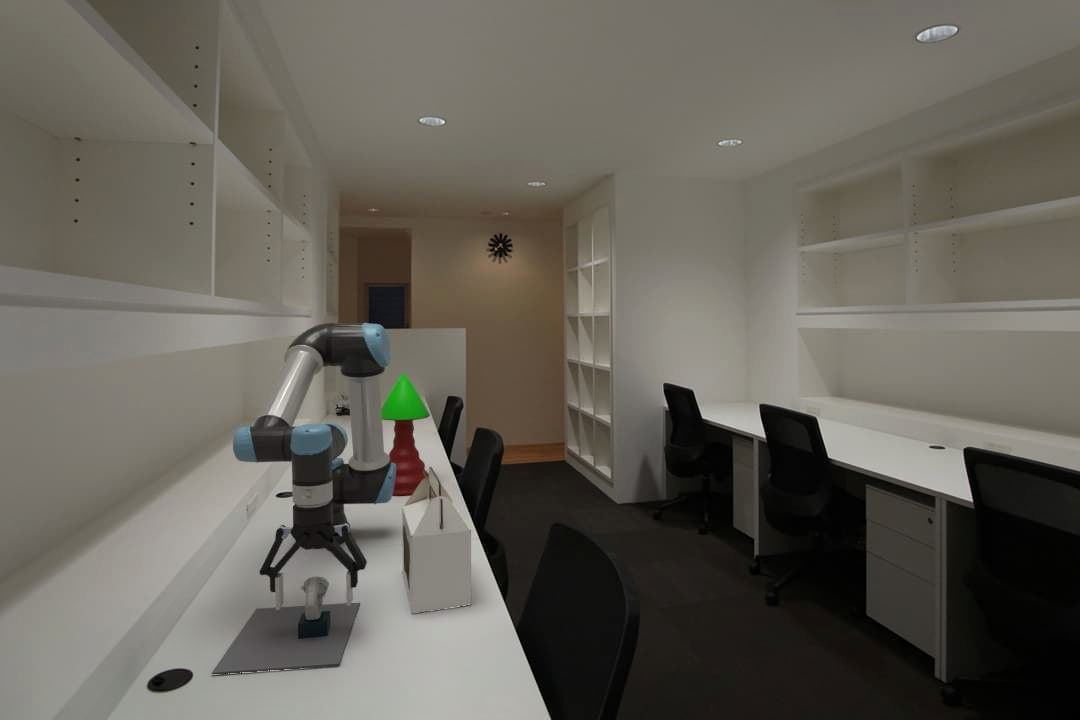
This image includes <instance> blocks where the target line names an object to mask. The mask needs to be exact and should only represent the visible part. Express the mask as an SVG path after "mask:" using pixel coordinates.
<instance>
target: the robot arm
mask: <svg viewBox="0 0 1080 720" xmlns="http://www.w3.org/2000/svg"><path fill="white" fill-rule="evenodd" d="M390 347H391V346H390V340H389V337H388V333H387V331H386V329H385V327H384V326H382V325H381V324H378V323H369V322H347V323H346V322H344V323H343V322H342V323H341V322H339V323H333V322H325V323H320V324H317V325H314V326H312V327H310V328H309V329H306V330H305V331H303V332H302V333H301V334H299V335H298V336H297V337H296V338H295V339H294V340H293V341H292V342H291V343H290V345H289V346H288V348H287V349H286V352H285V353H284V358H283V359H284V365H283V367H282V369H281V371H280V373H279V375H278V377H277V378H276V381H275V383H274V385H273V387H272V389H271V390H270V393H269V394H268V398H267V399H266V400H265V403H264V404H263V407H262V408H261V411H260V413H259V415H258V417H257V419H256V421H255V423H253V426H251V425H248V426H242V427H240V428H238V429H237V430H236V431H235V433H234V436H233V440H232V441H233V442H232V450H233V451H232V452H233V453H234V456H235V458H236V459H237V460H238V461H239V462H245V463H257V464H258V463H278V462H280V463H281V462H289V463H291V476H292V477H291V479H292V481H291V482H292V483H291V484H292V485H291V489H292V495H291V496H292V503H293V504H294V505H293V506H292V527H290V526H289V527H287V526H286V525H284V524H281V525H280V526H279V527H277V529H276V531H275V539H274V542H273V544H272V546H271V548H270V550H269V552H268V554H267V555H266V558H265V560H264V561H263V564H262V566H261V568H260V569H259V573H258V574H259V575H260V576H267V577H269V589H270V590H269V591H270V592H271V593H274V594H275V607H276V610H280V609H281V607H283V605H284V601H285V600H284V599H285V598H284V573H283V572H282V571H281V570H282V569H283V567H284V566H285V565H286V564H287V563H288V562H289V560H290V559H292V557H294V555H295V554H296V552H298V550H300V548H303V549H304V550H311V549H315V550H321V549H326V551H328V552H330V554H332V555H333V556H334V557H335V559H337V561H339V562H340V563H341V564H342V566H344V568H346V570H347V572H346V574H345V575H346V576H345V578H346V579H345V582H346V583H345V584H346V590H345V591H346V603H347V606H350V605H351V603H353V600H354V592H353V591H354V589H355V588H357V586H358V582H359V581H358V580H359V577H358V575H359V573H358V572H359V571H364V570H365V569H366V567H367V563H368V561H367V559H366V557H365V555H364V554H363V552H362V550H361V548H360V547H359V545H358V543H357V542H356V540H355V537H354V536H353V534H352V532H351V531H352V530H351V525H350V523H349V521H348V518H347V516H346V513H345V505H361V504H362V505H365V504H367V505H368V504H371V505H372V504H374V505H377V504H387V503H388V502H390V501H391V500H392V498H393V495H392V494H393V490H394V485H395V478H396V464H395V463H392V462H391V463H390V457H389V453H388V454H387V453H386V452H385V444H384V429H383V428H384V427H383V419H382V409H381V408H382V399H381V398H382V397H381V396H382V395H381V378H380V377H381V376H382V375H383V374H384V373H385V372H386V367H388V366H389V365H390V363H391V348H390ZM323 367H324V368H325V367H340V373H341V376H343V377H344V378H346V379H347V390H348V391H347V392H348V393H347V394H348V405H349V407H348V408H349V417H350V428H351V443H352V456H351V457H350V458H349V459H348V463H345V461H344V459H343V458H342V457H340V456H341V455H342V454H343V453H344V450H345V449H346V447H347V445H348V441H349V438H348V434H347V432H346V430H345V428H343V427H342V426H341V425H340V424H337V423H334V422H328V423H306V424H302V425H298V426H297V425H295V426H294V424H295V421H296V420H297V416H298V415H299V412H300V409H301V408H302V406H303V403H304V401H305V398H306V396H307V394H308V391H309V389H310V387H311V384H312V382H313V380H314V377H315V375H317V374H319V373H320V372H321V371H322V369H323ZM289 535H290V536H291V537H292V538H293V539H294V540H295V542H294V543H293V544H292V546H290V548H289V549H288V550H287V551H286V552H285V554H284V555H283V556H282V558H280V560H279V561H278V562H277V563H276V564H275V565H274V566H271V565H272V563H273V562H274V559H275V557H276V556H277V554H278V552H279V550H280V547H281V546H282V544H283V542H284V540H285V539H287V538H288V536H289ZM341 544H345V545H346V548H347V549H348V551H349V553H350V554H351V556H352V557H351V556H350V555H349V554H348V552H347V551H346V550H345V549H344V548H343V547H342V546H341Z"/></svg>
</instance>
